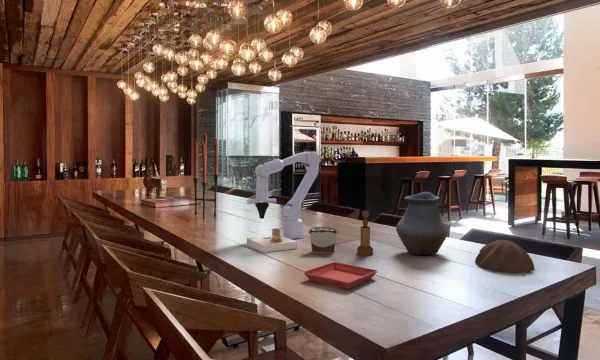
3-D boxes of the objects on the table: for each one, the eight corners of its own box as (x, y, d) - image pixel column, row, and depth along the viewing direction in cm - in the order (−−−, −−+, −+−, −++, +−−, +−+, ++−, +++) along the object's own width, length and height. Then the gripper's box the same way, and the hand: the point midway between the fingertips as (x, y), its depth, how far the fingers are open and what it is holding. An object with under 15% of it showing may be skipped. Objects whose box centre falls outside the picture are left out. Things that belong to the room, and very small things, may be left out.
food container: (338, 249, 185) (338, 226, 184) (337, 252, 178) (337, 229, 178) (309, 249, 186) (309, 226, 185) (308, 252, 180) (308, 228, 179)
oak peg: (276, 245, 191) (276, 227, 190) (284, 247, 187) (284, 229, 186) (267, 247, 187) (267, 229, 186) (276, 249, 183) (275, 230, 183)
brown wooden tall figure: (372, 255, 173) (373, 211, 172) (356, 255, 174) (356, 211, 173) (373, 252, 180) (373, 209, 178) (357, 251, 181) (358, 209, 180)
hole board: (278, 240, 203) (278, 234, 202) (297, 248, 187) (297, 241, 187) (246, 244, 194) (246, 238, 194) (264, 252, 179) (264, 245, 179)
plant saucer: (334, 270, 154) (334, 261, 154) (378, 279, 142) (378, 269, 142) (302, 282, 140) (302, 272, 140) (348, 293, 129) (348, 282, 128)
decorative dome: (507, 277, 145) (508, 247, 144) (463, 263, 163) (464, 237, 162) (546, 270, 152) (547, 242, 152) (500, 257, 171) (501, 233, 170)
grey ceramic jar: (389, 255, 174) (390, 194, 172) (403, 245, 193) (404, 190, 191) (442, 261, 164) (443, 196, 162) (451, 250, 183) (452, 192, 182)
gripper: (272, 188, 211) (271, 216, 211) (244, 189, 203) (244, 218, 204) (278, 190, 205) (278, 218, 205) (250, 190, 197) (250, 220, 198)
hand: (261, 218), depth 204 cm, fingers closed
